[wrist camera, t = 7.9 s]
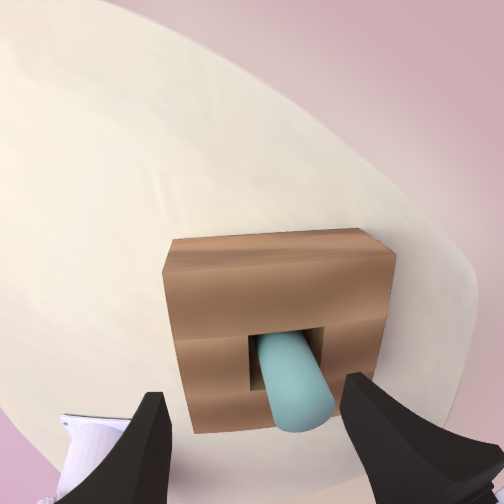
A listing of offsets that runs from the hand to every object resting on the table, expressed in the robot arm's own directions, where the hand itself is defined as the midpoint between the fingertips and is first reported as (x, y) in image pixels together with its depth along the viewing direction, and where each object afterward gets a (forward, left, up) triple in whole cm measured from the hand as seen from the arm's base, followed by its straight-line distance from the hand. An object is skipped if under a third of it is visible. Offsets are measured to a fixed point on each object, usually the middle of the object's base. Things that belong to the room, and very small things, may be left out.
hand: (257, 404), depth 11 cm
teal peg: (-2, -2, -9) cm, 10 cm away
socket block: (-2, -2, -10) cm, 11 cm away
